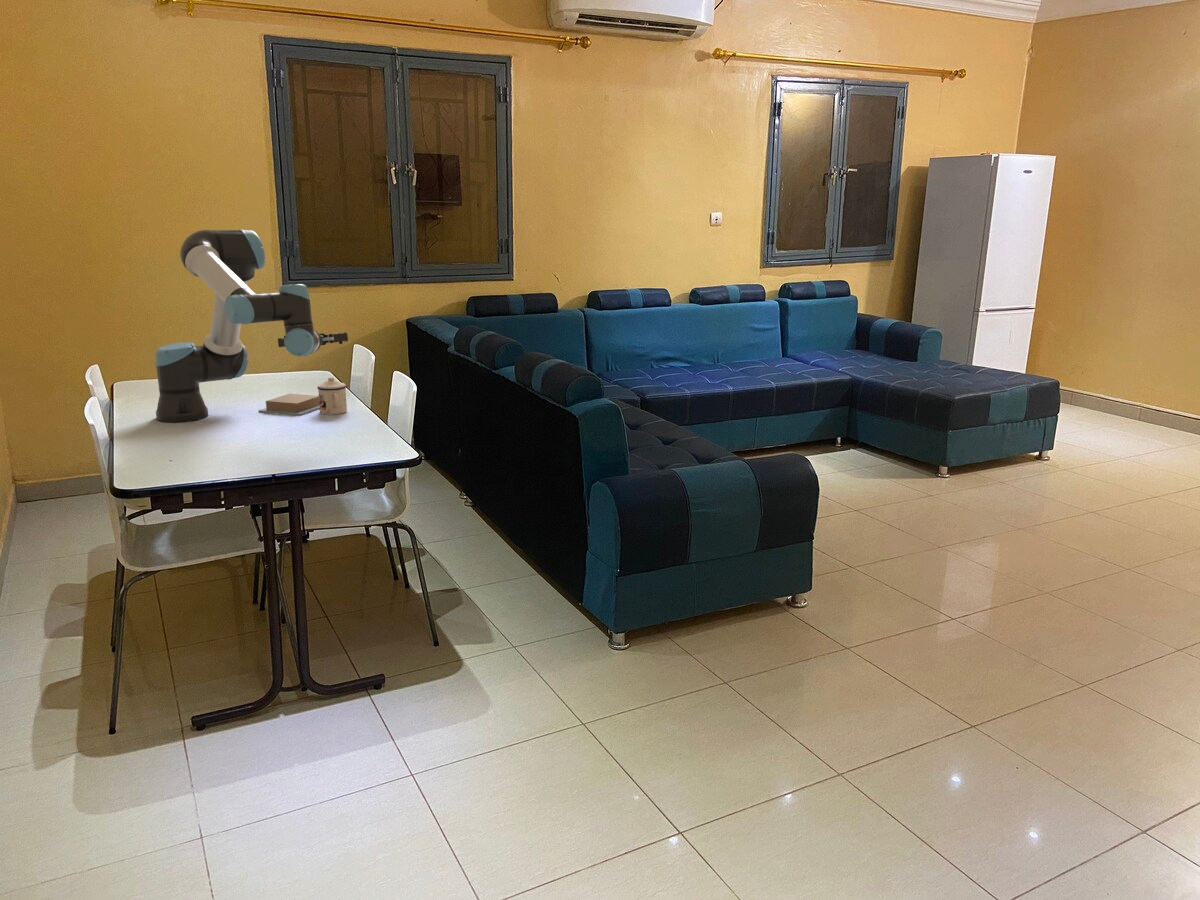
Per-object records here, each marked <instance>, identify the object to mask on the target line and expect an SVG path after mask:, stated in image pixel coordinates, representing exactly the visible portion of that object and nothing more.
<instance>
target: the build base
mask: <svg viewBox="0 0 1200 900" xmlns="http://www.w3.org/2000/svg"><path fill="white" fill-rule="evenodd" d="M265 406H266V407H264V408H262V409H259V410H258V413H263V412H269V413H268V414H275V413H278V414H279V415H287V414H294V415H293V416H300V415H301V416H303V415H302V414H304V415H306V414H305V413H307V414H309V413H312V412H315V411H317V410H316V409H318V410H320V409H319V408H320V405H319V395H314V394H301V393H300V394H299V393H287V394H284V395H280V396H277V397H274V398H271V399H268V400H265ZM314 410H315V411H314ZM311 411H312V412H311ZM308 412H309V413H308ZM278 414H277V415H278Z"/></svg>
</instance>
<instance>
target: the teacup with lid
mask: <svg viewBox="0 0 1200 900" xmlns="http://www.w3.org/2000/svg"><path fill="white" fill-rule="evenodd" d="M316 388H317V390H318V396H319V405H320V409H319V413H320V414H322V413H323V415H327V414H335V415H342V414H344V412H345V413H346V412H347V411H348V407H347V406H348V404H347V392H346V389H347V385H346V383H344V382H340V381H339V380H337V379H335V377H334V376H329V377H328V378H327V380H325V381H324V382H322V383H320V384H317V387H316ZM341 413H342V414H341Z"/></svg>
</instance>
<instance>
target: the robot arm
mask: <svg viewBox="0 0 1200 900" xmlns="http://www.w3.org/2000/svg"><path fill="white" fill-rule="evenodd" d="M179 252H180V253H179V257H180V261H181V263H182V265H183V267H184V268H185V269H186V270H187V271H188V272H189V273H190V275H193V276H194V277H198V278H199V279H201V281H202V282H203V283H205V285H207V286H208V288H210V290H211V291H213V292H214V293H215V294H214V295H215V296H214V302H213V309H212V316H211V317H212V318H211V325H210V330H209V331H210V333H209V334H207V335H205V337H204V339H203V343H202V344H203V345H198V346H196V345H195V343H194V342H192V341H190V342H189V341H184V342H176V343H175V342H174V343H169V344H167V345H163V346H160V347H158V349H156V351H155V353H154V354H155V355H154V356H155V362H154V365H155V367H156V368H155V369H156V376H157V383H158V391H159V397H158V402H157V408H156V410H155V418H156V420H157V421H159V422H163V423H182V422H191V421H197V420H202V419H204V418H206V417H208V416H209V410H208V409H209V408H208V407H207V406H206V403H205V401H204V398H203V396H202V394H201V389H200V383H208V382H216V381H224V380H227V381H230V380H233V379H237V378H241V377H242V376H243V375H244V374H245V373H246V371H247V368H248V365H249V359H248V357H249V356H248V352H247V349H246V347H245V345H244V344H243V342H242V341H241V339H240V333H241V329H242V328H241V326H242V325H249V324H257V323H270V322H271V323H272V322H280V321H281V322H282V321H283V327H284V333H285V335H283V338H281V337H280V338H277V343H278V348H285V350H286V351H287V352H288V353H290V354H291V355H292V356H295V357H306V358H308V357H309V356H310V355H311V354H314V353H316V352H318V351H319V350H320V348H321V347H322V346H325V345H327V344H333V343H338V344H339V345H343V343H344V342H348V341H349V338H348V332H342V333H341V332H335V333H329V334H325V333H319V331H317V330H316V329H314V322H313V316H312V308H311V307H312V306H311V298H310V293H309V290H308V286H307V285H306V284H303V283H297V284H285V285H283V284H282V285H279V287H278V291H277V292H268V293H267V292H266V293H256V292H255V291H254V290H252V289H251V288H250V287H249V286H248V283H249V282H251V281H252V280H253V279H254V277H255V273H256V270H261V269H263V268H264V267H265V265H266V264H265V263H266V254H265V248H264V245H263V242H262V240H261V238H260V237H259V235H258V234H257V233H256V232H255V231H254V230H251V229H249V230H248V229H242V228H239V229H201V230H198V231H195V232H192V233H191V234H190V235H188V236H187V237H186V238H185V240H184V241H183V242H182V245H181V246H180V251H179Z"/></svg>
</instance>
